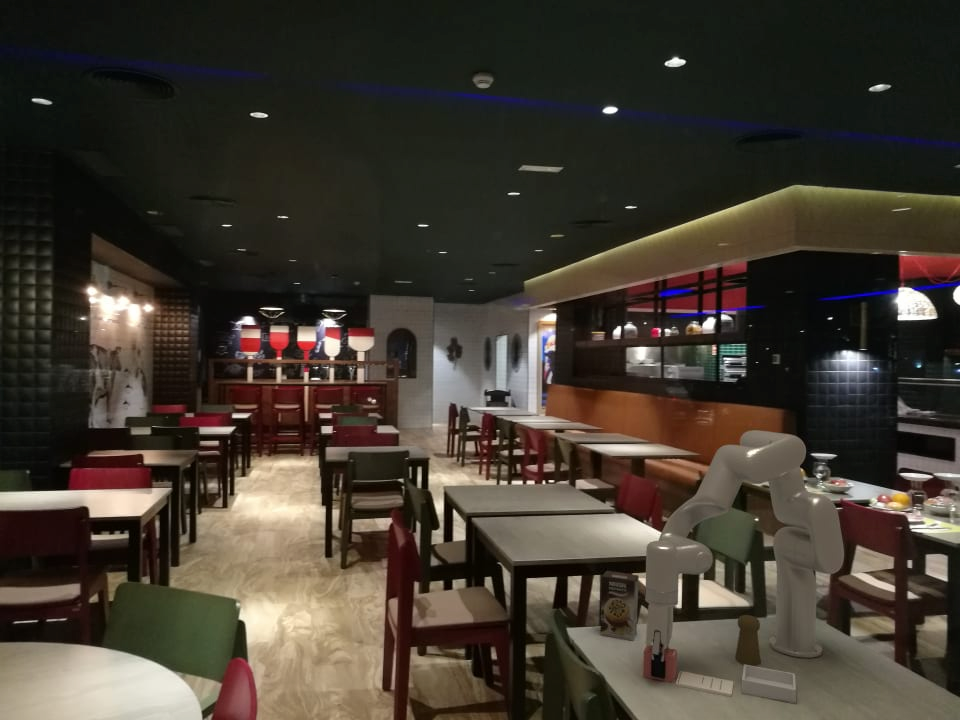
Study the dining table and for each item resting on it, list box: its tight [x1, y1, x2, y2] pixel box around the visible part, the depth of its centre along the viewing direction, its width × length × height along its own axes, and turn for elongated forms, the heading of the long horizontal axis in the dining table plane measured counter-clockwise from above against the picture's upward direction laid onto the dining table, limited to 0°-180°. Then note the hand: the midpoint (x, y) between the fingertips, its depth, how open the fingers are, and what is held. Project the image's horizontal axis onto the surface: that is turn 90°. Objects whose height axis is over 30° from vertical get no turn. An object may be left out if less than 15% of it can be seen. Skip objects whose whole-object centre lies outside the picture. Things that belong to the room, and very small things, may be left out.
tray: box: [741, 664, 797, 705], centre depth 156 cm, size 9×11×3 cm
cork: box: [734, 614, 762, 667], centre depth 171 cm, size 6×6×11 cm
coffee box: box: [600, 570, 640, 642], centre depth 187 cm, size 9×6×16 cm
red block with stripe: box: [642, 644, 678, 684], centre depth 162 cm, size 4×7×6 cm, turn 66°
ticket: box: [675, 670, 734, 698], centre depth 157 cm, size 7×12×1 cm, turn 66°
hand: (659, 671), depth 161 cm, fingers closed on red block with stripe, 4 cm apart
